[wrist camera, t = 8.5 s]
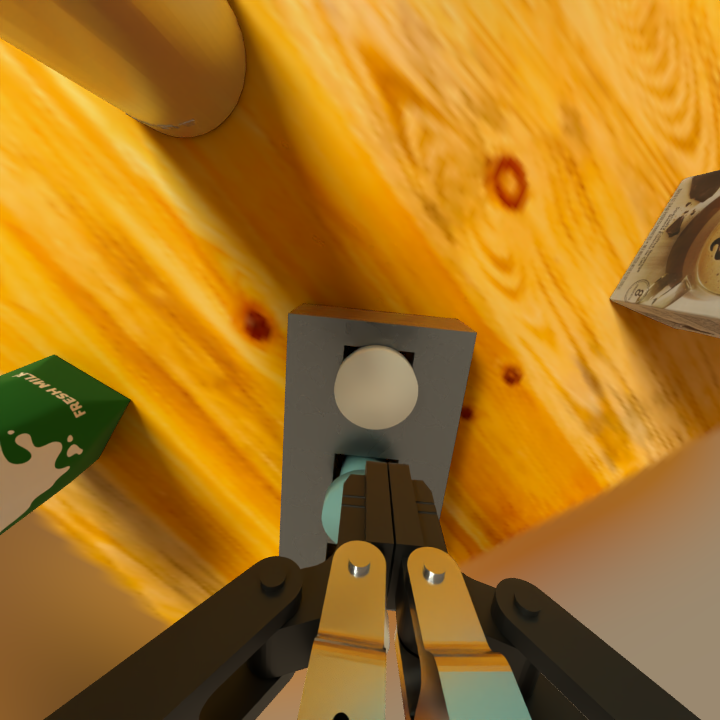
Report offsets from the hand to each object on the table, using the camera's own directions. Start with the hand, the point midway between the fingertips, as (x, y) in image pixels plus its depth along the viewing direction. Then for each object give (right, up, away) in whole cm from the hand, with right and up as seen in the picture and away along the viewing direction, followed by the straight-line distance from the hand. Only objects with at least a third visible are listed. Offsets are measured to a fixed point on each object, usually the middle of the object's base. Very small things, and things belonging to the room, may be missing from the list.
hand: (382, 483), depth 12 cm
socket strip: (0, -3, +18) cm, 18 cm away
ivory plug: (0, +4, +15) cm, 15 cm away
